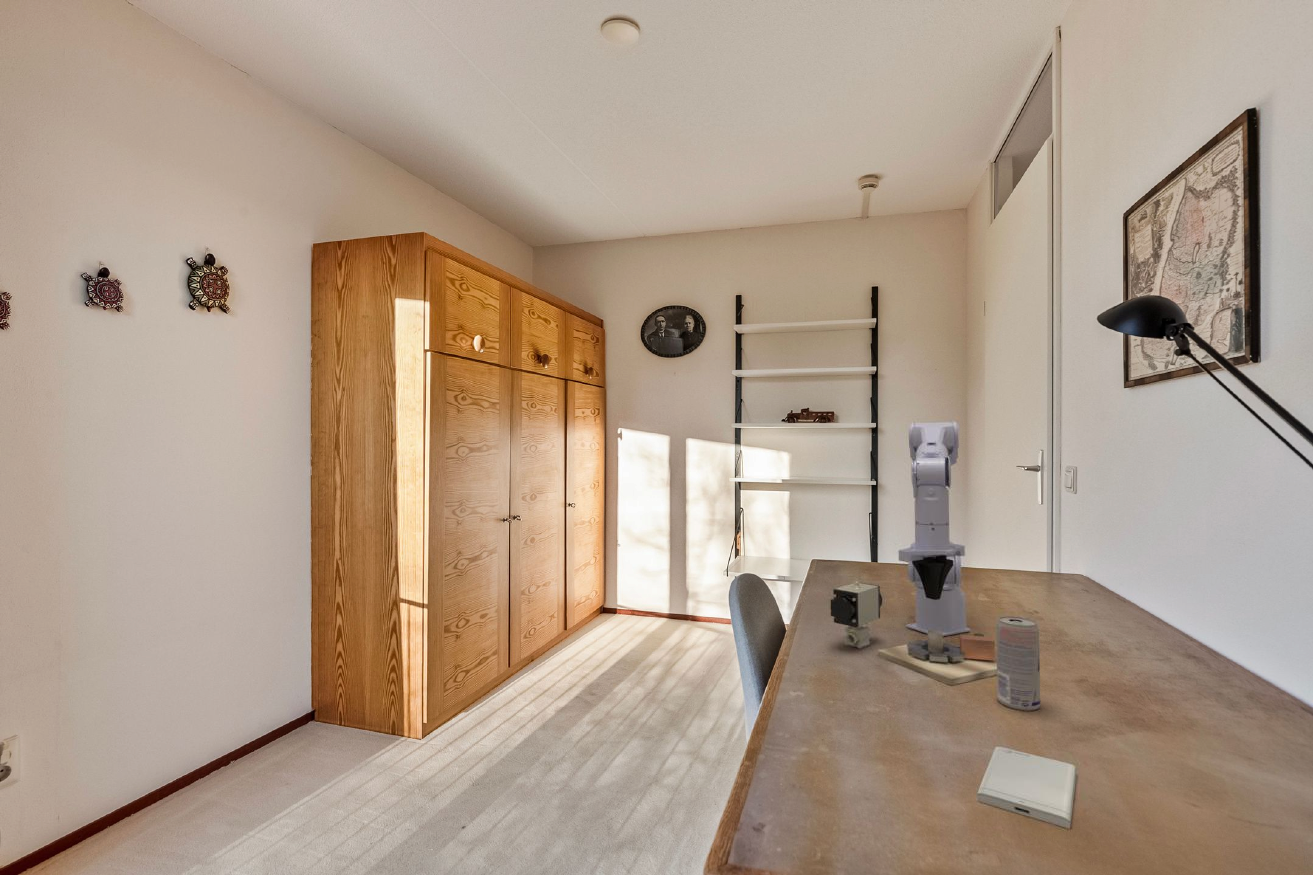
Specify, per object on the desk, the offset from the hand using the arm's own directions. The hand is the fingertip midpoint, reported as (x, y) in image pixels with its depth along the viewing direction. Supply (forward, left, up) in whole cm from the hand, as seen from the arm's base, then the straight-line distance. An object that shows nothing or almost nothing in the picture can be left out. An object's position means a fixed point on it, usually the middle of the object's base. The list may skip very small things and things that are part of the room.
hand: (932, 598), depth 112 cm
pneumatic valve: (+9, -10, -10) cm, 17 cm away
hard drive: (+27, +36, -11) cm, 46 cm away
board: (+3, +4, -10) cm, 11 cm away
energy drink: (+7, +21, -10) cm, 24 cm away
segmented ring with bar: (+1, +5, -9) cm, 10 cm away
